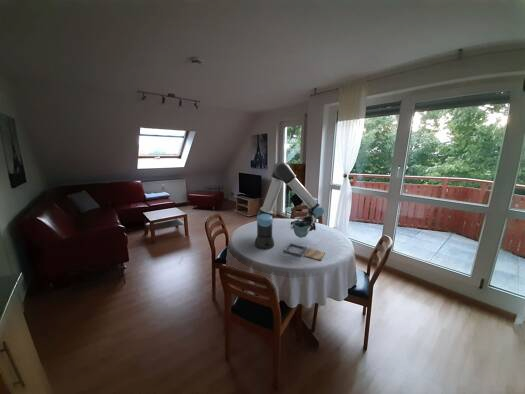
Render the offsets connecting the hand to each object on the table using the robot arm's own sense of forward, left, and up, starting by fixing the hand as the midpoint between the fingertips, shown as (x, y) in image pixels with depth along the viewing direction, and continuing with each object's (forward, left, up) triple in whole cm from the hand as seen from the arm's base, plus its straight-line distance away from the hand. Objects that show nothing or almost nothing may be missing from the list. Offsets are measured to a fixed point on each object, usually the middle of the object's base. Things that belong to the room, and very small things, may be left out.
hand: (299, 229), depth 146 cm
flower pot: (0, +4, -7) cm, 8 cm away
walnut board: (+11, +4, -18) cm, 22 cm away
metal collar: (-3, +3, -18) cm, 19 cm away
